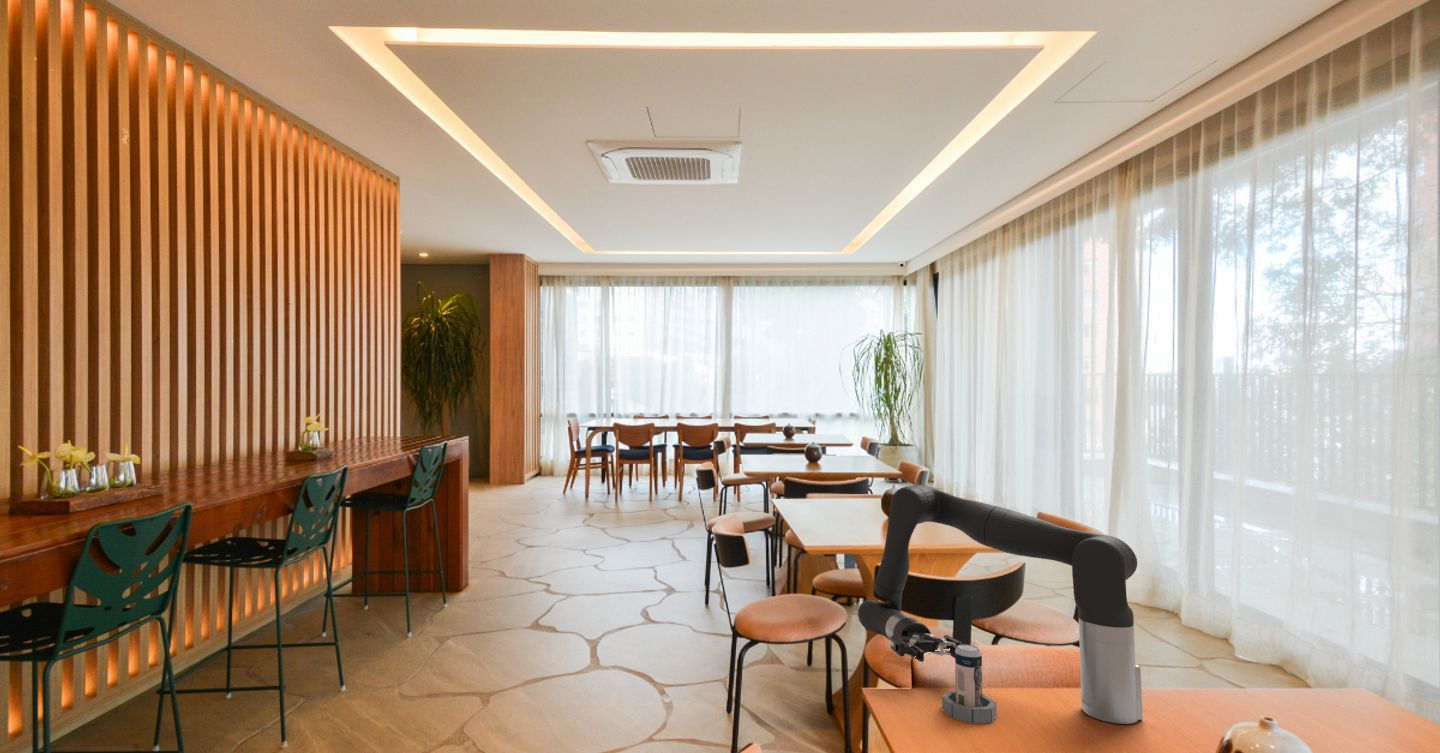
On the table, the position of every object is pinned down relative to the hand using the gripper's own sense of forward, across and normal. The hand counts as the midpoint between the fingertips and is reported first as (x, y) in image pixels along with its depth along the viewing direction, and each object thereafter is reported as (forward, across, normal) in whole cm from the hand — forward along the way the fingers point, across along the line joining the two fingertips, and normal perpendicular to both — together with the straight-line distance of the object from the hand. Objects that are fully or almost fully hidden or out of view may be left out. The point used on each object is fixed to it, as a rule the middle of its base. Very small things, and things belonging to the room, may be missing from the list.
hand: (942, 656), depth 134 cm
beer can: (+10, 0, +7) cm, 13 cm away
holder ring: (+10, 0, +7) cm, 13 cm away
